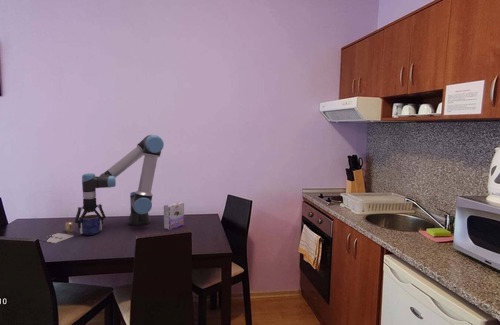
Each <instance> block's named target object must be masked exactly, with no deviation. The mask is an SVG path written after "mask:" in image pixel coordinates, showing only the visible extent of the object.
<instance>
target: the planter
mask: <svg viewBox="0 0 500 325" xmlns="http://www.w3.org/2000/svg"><path fill="white" fill-rule="evenodd" d="M81 223H82V234H83V235H85V236H94V235H97V234H98V233H99V232H100V231H101V230H100V216H97V214H88V215H87V214H86V215H85V217H84V218H83V219H82V222H81Z"/></svg>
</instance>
